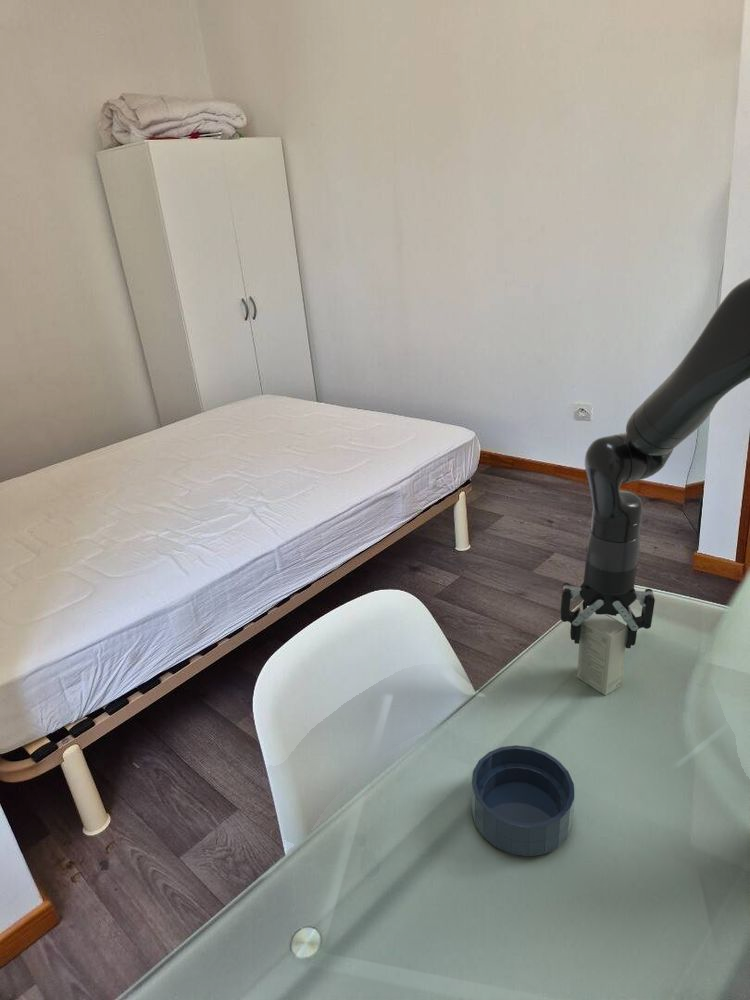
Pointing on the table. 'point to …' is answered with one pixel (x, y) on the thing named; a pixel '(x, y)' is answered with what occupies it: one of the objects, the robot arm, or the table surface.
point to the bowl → (522, 800)
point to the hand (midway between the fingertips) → (601, 642)
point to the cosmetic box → (601, 652)
